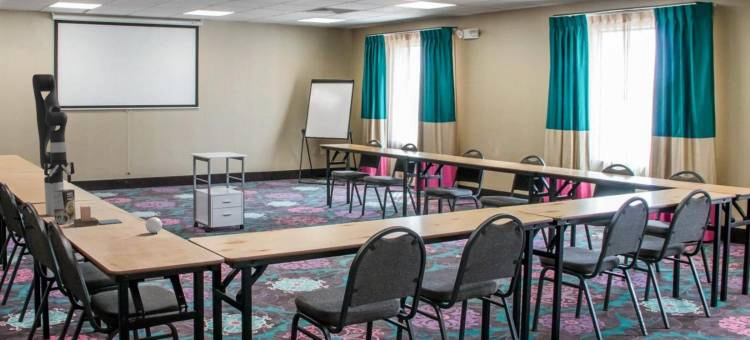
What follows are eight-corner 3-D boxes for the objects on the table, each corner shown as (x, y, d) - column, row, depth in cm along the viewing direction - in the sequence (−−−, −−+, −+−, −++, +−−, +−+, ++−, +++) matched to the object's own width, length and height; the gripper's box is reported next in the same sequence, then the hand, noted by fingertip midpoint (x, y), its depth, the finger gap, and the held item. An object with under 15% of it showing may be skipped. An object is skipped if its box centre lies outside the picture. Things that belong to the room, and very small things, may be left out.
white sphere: (165, 232, 365) (165, 217, 364) (151, 235, 359) (150, 219, 359) (153, 230, 372) (153, 214, 371) (139, 232, 366) (138, 216, 365)
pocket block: (73, 224, 390) (73, 219, 390) (94, 222, 395) (93, 217, 395) (77, 226, 382) (77, 221, 382) (98, 225, 387) (98, 219, 387)
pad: (96, 221, 396) (96, 220, 396) (117, 220, 401) (117, 218, 401) (101, 224, 387) (100, 223, 387) (122, 222, 393) (121, 221, 392)
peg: (80, 224, 389) (80, 206, 388) (89, 223, 391) (88, 205, 390) (82, 225, 386) (81, 207, 385) (91, 224, 388) (90, 206, 387)
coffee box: (66, 224, 390) (64, 191, 389) (54, 223, 392) (52, 191, 390) (76, 221, 399) (75, 189, 397) (64, 220, 400) (63, 188, 399)
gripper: (70, 150, 411) (72, 181, 412) (41, 152, 403) (43, 184, 404) (74, 150, 405) (76, 182, 406) (45, 152, 397) (47, 184, 398)
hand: (60, 183), depth 405 cm, fingers open, 8 cm apart
